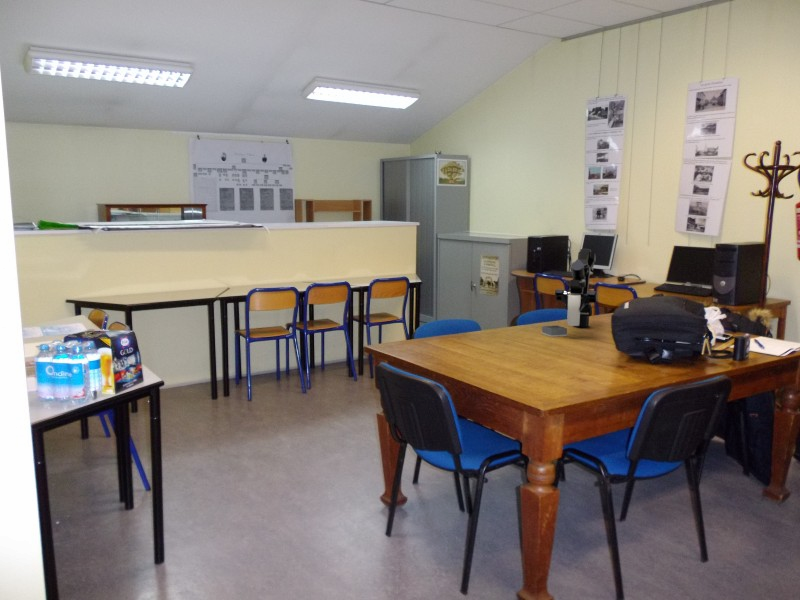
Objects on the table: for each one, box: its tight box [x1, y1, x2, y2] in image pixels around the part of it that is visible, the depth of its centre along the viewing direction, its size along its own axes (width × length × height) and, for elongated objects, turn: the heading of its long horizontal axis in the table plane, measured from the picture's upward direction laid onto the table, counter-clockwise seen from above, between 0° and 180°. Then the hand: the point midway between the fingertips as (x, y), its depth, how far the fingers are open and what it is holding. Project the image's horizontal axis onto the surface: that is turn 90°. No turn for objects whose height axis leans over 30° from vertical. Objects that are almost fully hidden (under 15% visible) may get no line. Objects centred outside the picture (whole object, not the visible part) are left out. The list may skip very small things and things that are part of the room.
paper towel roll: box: [566, 294, 581, 327], centre depth 308 cm, size 6×6×14 cm
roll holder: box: [540, 324, 568, 338], centre depth 317 cm, size 9×9×4 cm
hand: (573, 310), depth 306 cm, fingers closed on paper towel roll, 6 cm apart
